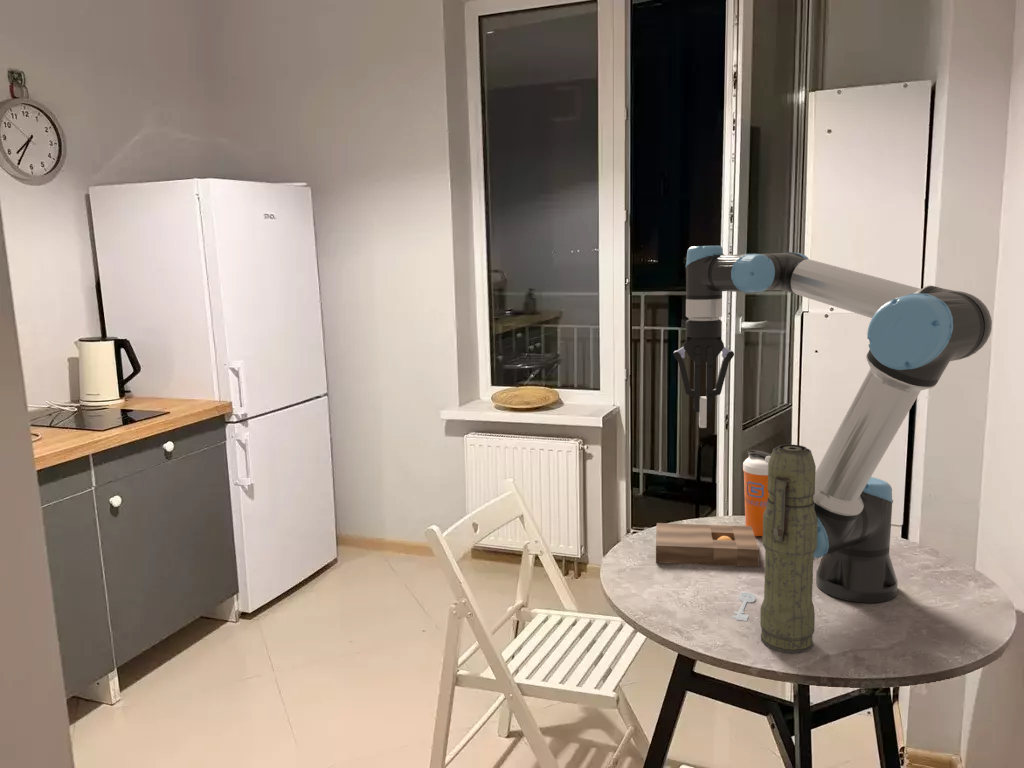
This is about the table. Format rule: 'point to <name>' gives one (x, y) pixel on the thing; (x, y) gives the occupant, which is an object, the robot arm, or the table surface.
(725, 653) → the table surface
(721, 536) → the ball
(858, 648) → the table surface
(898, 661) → the table surface
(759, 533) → the shaker bottle
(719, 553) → the board
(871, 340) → the robot arm
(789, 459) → the thermos
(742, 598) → the key
